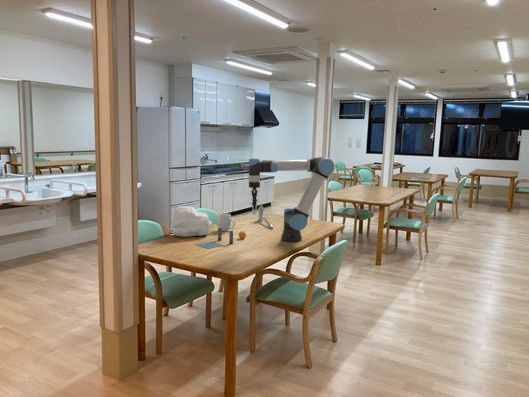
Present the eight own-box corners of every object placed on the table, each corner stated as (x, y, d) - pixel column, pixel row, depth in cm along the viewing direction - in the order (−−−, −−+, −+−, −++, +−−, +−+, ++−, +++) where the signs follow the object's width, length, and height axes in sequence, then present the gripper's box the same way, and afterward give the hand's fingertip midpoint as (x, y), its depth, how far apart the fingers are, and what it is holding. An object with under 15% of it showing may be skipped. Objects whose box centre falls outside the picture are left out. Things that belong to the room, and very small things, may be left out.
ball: (242, 237, 326) (242, 230, 325) (247, 238, 322) (247, 231, 321) (236, 238, 322) (237, 231, 321) (241, 239, 318) (242, 232, 317)
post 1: (220, 239, 317) (220, 227, 316) (222, 240, 315) (222, 228, 314) (217, 240, 315) (217, 228, 314) (219, 241, 313) (219, 228, 312)
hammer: (275, 236, 359) (262, 219, 396) (276, 217, 354) (263, 202, 391) (269, 236, 357) (257, 220, 394) (271, 217, 353) (258, 202, 390)
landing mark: (211, 241, 310) (211, 241, 310) (224, 245, 301) (224, 245, 301) (195, 244, 301) (195, 244, 301) (207, 248, 291) (207, 248, 291)
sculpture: (172, 239, 316) (213, 238, 322) (172, 209, 313) (214, 209, 319) (171, 231, 341) (210, 231, 347) (171, 204, 338) (210, 204, 344)
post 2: (231, 242, 308) (231, 230, 307) (233, 243, 306) (233, 230, 305) (228, 243, 306) (228, 230, 305) (231, 244, 304) (231, 231, 303)
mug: (237, 230, 349) (237, 214, 348) (231, 233, 339) (231, 216, 338) (221, 228, 355) (221, 212, 353) (214, 231, 345) (214, 215, 343)
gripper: (249, 179, 309) (249, 209, 312) (248, 183, 284) (248, 215, 287) (259, 179, 309) (260, 209, 312) (260, 183, 284) (260, 215, 287)
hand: (254, 212), depth 299 cm, fingers open, 13 cm apart
